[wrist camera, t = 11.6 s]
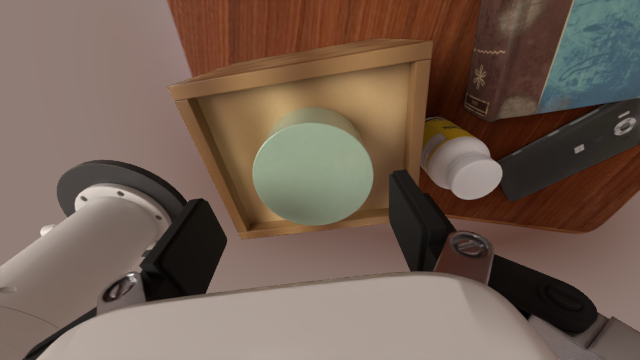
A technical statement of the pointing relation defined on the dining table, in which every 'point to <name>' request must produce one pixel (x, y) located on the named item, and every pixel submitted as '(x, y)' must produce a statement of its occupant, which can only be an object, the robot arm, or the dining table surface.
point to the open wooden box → (302, 92)
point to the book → (553, 56)
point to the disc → (313, 167)
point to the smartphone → (571, 148)
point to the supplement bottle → (458, 160)
